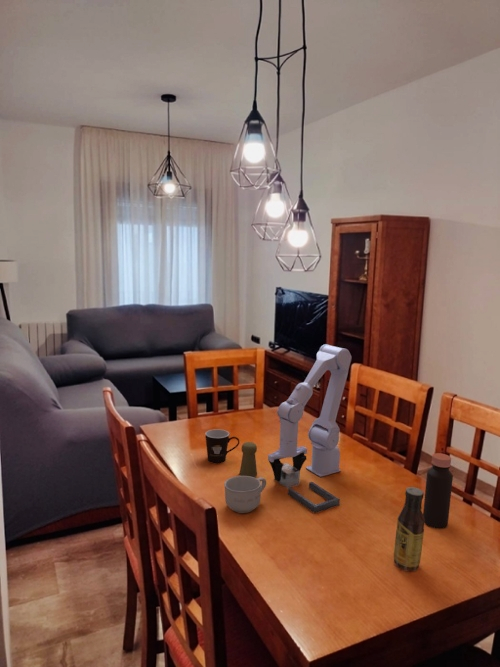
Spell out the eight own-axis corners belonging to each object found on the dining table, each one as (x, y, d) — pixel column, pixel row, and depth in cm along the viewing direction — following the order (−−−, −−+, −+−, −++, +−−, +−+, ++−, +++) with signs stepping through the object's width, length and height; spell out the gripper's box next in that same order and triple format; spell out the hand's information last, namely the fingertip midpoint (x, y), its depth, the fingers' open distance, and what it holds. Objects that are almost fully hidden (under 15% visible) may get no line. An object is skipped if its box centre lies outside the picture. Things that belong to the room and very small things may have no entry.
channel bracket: (311, 487, 158) (311, 481, 157) (339, 505, 147) (339, 499, 146) (287, 494, 152) (288, 488, 152) (314, 513, 142) (315, 507, 141)
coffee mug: (200, 462, 174) (201, 435, 172) (211, 453, 182) (211, 427, 180) (230, 468, 170) (230, 441, 168) (239, 459, 177) (240, 433, 176)
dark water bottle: (417, 521, 139) (423, 455, 136) (431, 514, 143) (437, 449, 140) (439, 532, 134) (446, 463, 131) (452, 524, 138) (459, 458, 135)
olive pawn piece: (255, 479, 162) (256, 447, 160) (237, 476, 163) (238, 445, 162) (258, 471, 168) (259, 441, 166) (241, 469, 169) (242, 439, 167)
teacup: (233, 520, 136) (234, 494, 135) (217, 503, 146) (218, 477, 145) (276, 510, 143) (277, 484, 141) (258, 493, 152) (259, 469, 151)
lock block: (285, 476, 165) (286, 462, 164) (299, 485, 159) (299, 470, 158) (273, 479, 163) (274, 465, 162) (286, 488, 157) (287, 474, 156)
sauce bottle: (389, 557, 122) (395, 483, 119) (413, 557, 122) (420, 483, 119) (399, 574, 115) (406, 496, 112) (424, 574, 116) (432, 496, 113)
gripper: (298, 431, 166) (296, 468, 168) (263, 438, 158) (261, 477, 160) (311, 437, 160) (309, 476, 162) (276, 445, 152) (274, 486, 154)
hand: (286, 477), depth 161 cm, fingers open, 7 cm apart
